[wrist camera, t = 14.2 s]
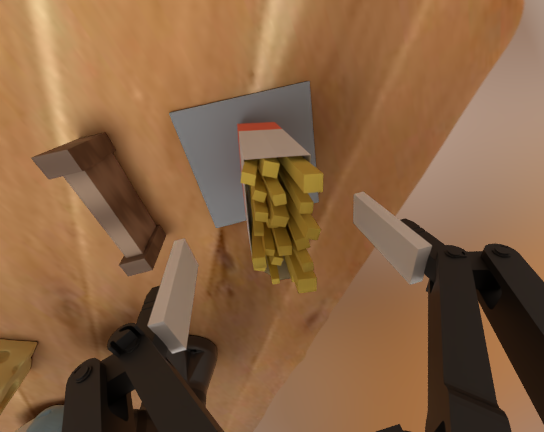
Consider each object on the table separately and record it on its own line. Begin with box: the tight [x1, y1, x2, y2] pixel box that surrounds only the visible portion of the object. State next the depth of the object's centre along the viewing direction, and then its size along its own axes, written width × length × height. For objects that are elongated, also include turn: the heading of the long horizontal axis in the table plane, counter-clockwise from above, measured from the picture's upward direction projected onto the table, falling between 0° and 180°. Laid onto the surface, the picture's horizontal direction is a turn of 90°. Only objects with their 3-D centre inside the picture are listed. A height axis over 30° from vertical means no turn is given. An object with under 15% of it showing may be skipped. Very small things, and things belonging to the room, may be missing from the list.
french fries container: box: [237, 122, 323, 293], centre depth 21 cm, size 5×11×18 cm, turn 1°
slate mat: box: [169, 81, 319, 228], centre depth 29 cm, size 16×16×1 cm
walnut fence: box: [31, 133, 166, 276], centre depth 25 cm, size 15×3×7 cm, turn 10°
